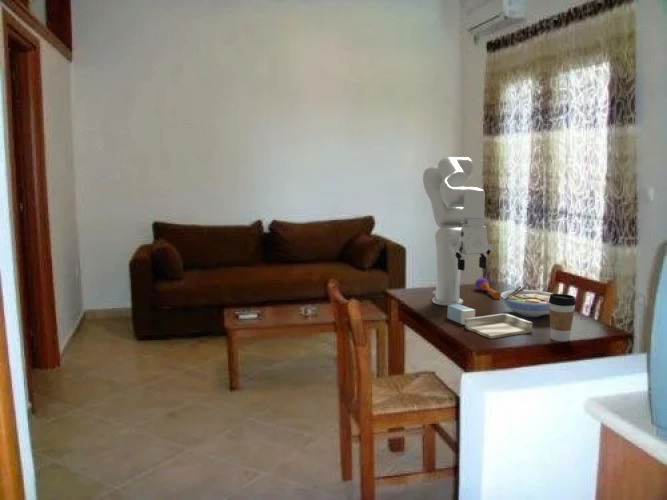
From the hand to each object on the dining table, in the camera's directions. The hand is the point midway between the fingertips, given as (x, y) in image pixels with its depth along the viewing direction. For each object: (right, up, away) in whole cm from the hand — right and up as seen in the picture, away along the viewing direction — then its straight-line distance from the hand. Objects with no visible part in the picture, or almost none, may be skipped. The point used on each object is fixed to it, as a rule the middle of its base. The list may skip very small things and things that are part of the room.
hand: (471, 268), depth 229 cm
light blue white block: (-4, -19, +3) cm, 20 cm away
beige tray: (+7, -21, -10) cm, 24 cm away
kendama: (+17, -13, +46) cm, 51 cm away
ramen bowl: (+25, -18, +10) cm, 33 cm away
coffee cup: (+25, -23, -20) cm, 40 cm away
